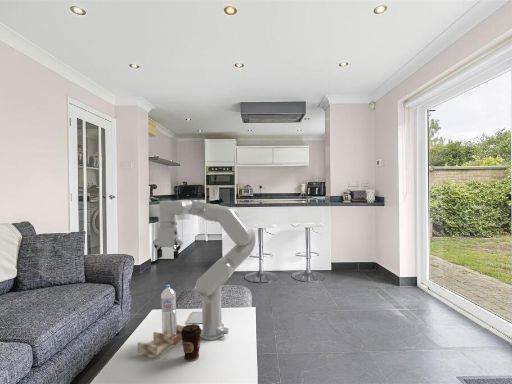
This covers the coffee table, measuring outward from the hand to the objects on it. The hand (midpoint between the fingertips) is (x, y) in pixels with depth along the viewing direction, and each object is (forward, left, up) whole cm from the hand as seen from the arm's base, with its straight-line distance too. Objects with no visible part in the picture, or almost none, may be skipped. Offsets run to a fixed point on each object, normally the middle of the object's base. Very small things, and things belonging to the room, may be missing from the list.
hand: (167, 258), depth 147 cm
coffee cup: (-24, +16, -38) cm, 48 cm away
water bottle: (-5, +6, -37) cm, 38 cm away
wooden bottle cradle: (-5, +11, -38) cm, 40 cm away
